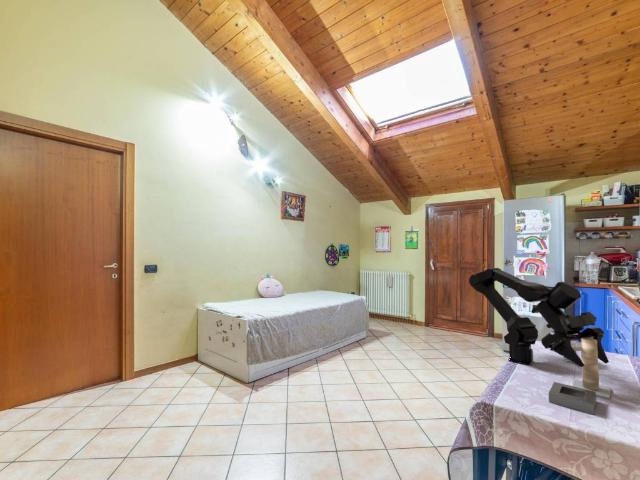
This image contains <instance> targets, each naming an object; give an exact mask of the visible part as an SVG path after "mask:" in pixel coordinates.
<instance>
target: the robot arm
mask: <svg viewBox="0 0 640 480" xmlns="http://www.w3.org/2000/svg"><path fill="white" fill-rule="evenodd" d="M468 282H469V283H468V284H469V286H470V287H472V289H473V290H474V291H476V292H478V293H480V294H482V295H483V297H485V298H486V299H487V300H488V302H489V303H490V304H491V306H492V307H493V308H494V309H495V310H496V312H497V313H498V314H499V316H501V318H502V319H503V320H504V321H505V323H506V329H507V330H506V331H507V332H508V333H507V334H505V335H504V336H503V339H504V343H505V344H508V348H509V349H508V350H509V352H508V353H509V358H508V359H507V360H509V359H510V360H509V362H514V363H518V364H521V365H526V366H530V365H531V364H532V363H533V361H534V349H533V348H532V345H536V342H537V340H538V337H539V331H538V328H537V325H536V324H534V323H533V322H532V320H531V319H530V318H529V317H527V316H525V317H524V316H523V317H522V316H520V315H518V313H517V312H516V310H515V309H513V307H512V306H511V305H510V304H509V302H507V301H506V300H505V298H504V297H503V296H502V295H501V293H499V292H498V290H497V289H496V288H495V287H496V286H495V282H498V283H500V284H502V285H504V286H505V287H508V288H510V289H512V290H513V291H514V292H516V294H517V295H518V297H520V298H521V299H523V300H524V301H525V302H527V303H535V302H538V303H537V304H532V308H531V313H532V314H540V315H541V316H542V318H543V319H544V321H545V322H546V323H547V324H546V325H545V326H546V327H547V329H552V330H553V331H549V332H548V333H547V334H546V335H545V336H543V337H542V338H541V340H540V341H541V345H542V346H543V347H544V349H548V350H550V351H551V352H554V353H556V354H559V355H560V356H561V357H563V358H564V357H565V358H567V359H568V360H570V361H569V362H572V363H573V364H575V365H576V366H578V367H580V368H582V367H583V366H584V364H583V362H582V359H581V358H580V356H579V355H578V354H577V351H576V352H575V351H574V349H573V348H572V347H571V341H572V340H573V341H578V342H580V343H581V338H591V339H595V340H597V350H598V360H600V361H602V362H603V363H604V364H608V363H609V362H610V361H609V358H608V356H607V354H606V352H605V350H604V347H603V344H602V339H603V338H604V335H606V333H605V331H604V330H603V329H602V328H601V327H597V326H596V322H597V317H596V316H595V315H594V314H593V313H592V312H591V311H584V312H581V313H580V314H579V315H574V316H573V315H571V314H566V313H565V312H564V311H563V310H567V309H568V308H570V307H571V306H572V305H574V303H576V302H577V301H579V300H580V299H581V298H582V294H581V292H580V291H579V290H578V288H575V287H573V286H572V285H570V284H566V283H565V281H558V282H556V284H554V286H553V287H552V288H548V287H547V286H545V285H544V284H541V283H538V282H533V281H532V282H531V281H527V280H524V279H522V278H519V277H517V276H515V275H513V274H511V273H509V272H507V271H504V270H502V269H501V268H499V267H489V268H487V269H485V270H483V271H480V272H477V273H474V274H471V275H470V277H469V279H468ZM588 326H589V327H588ZM591 326H592V327H591ZM585 327H586V328H585ZM510 357H511V358H510Z"/></svg>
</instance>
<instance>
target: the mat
mask: <svg viewBox="0 0 640 480" xmlns="http://www.w3.org/2000/svg"><path fill="white" fill-rule="evenodd" d="M572 386H574V387H578V388H582V389H585V388H584V387H583V381H582V380H579V379H574V380H573V383H572ZM586 390H588V389H586ZM611 390H612V388H611V387H610V386H605V385H601V384H599V391H594V392H596V398H597V397H598V398H602V399H606V400H611ZM590 391H592V390H590Z"/></svg>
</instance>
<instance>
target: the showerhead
mask: <svg viewBox="0 0 640 480" xmlns="http://www.w3.org/2000/svg"><path fill="white" fill-rule="evenodd" d="M571 347H572V348H573V349H574V351H575V352H576V353H577V352H581V342H579V341H578V340H572V341H571ZM563 358H564V359H563V360H564V361H566V362H571V361H570V360H568V359H567V358H565V357H563Z"/></svg>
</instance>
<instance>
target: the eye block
mask: <svg viewBox="0 0 640 480" xmlns="http://www.w3.org/2000/svg"><path fill="white" fill-rule="evenodd" d="M548 402H549V404H550V403H551V404H555V405H558V406H561V407H564V408H565V407H566V408H569V409H572V410H575V411H579V412H583V413H586V414H590V415H595V411H596V405H597V396H596V392H594V391H590V390H586V389H582V388H578V387H574V386H573V385H570V384H569V385H568V384H565V383H560V382H555V381H553V383H552V385H551V387H550V390H549V391H548Z"/></svg>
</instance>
